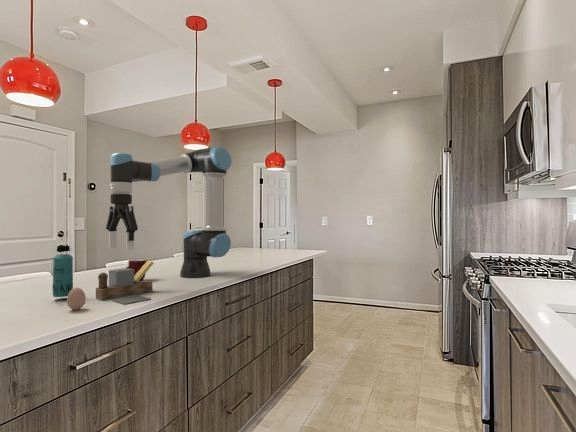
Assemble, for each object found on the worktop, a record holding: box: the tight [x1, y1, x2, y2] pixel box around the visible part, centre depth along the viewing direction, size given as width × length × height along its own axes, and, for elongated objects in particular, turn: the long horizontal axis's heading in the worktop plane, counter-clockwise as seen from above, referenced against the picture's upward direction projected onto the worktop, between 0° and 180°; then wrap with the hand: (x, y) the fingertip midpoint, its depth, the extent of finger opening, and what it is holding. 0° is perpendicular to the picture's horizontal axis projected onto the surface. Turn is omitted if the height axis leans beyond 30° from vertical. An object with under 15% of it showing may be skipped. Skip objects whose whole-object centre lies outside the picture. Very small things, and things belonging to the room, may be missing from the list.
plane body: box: [95, 272, 153, 301], centre depth 140 cm, size 20×5×10 cm, turn 141°
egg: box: [66, 287, 87, 311], centre depth 118 cm, size 5×5×7 cm
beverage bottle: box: [52, 244, 74, 298], centre depth 133 cm, size 6×7×20 cm
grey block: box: [108, 267, 134, 288], centre depth 139 cm, size 7×6×6 cm
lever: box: [134, 260, 154, 284], centre depth 145 cm, size 1×4×11 cm
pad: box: [111, 294, 151, 306], centre depth 131 cm, size 10×9×1 cm
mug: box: [125, 258, 148, 282], centre depth 168 cm, size 10×8×10 cm
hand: (121, 248), depth 139 cm, fingers open, 13 cm apart
